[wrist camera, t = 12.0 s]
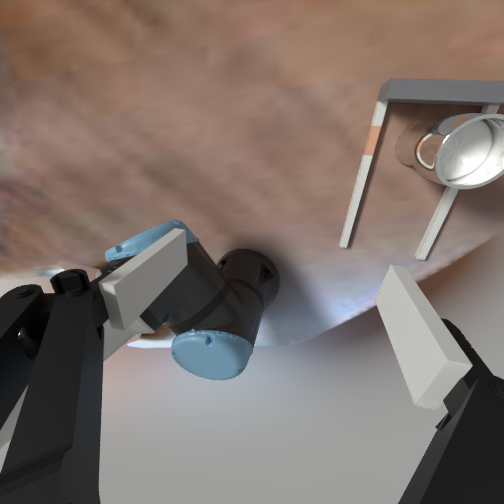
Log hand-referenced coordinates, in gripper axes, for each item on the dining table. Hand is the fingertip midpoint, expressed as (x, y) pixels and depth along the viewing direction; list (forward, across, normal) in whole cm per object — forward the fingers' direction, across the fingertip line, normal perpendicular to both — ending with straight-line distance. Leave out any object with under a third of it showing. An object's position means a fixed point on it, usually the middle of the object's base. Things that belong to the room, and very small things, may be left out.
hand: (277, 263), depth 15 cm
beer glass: (+29, -16, -7) cm, 35 cm away
